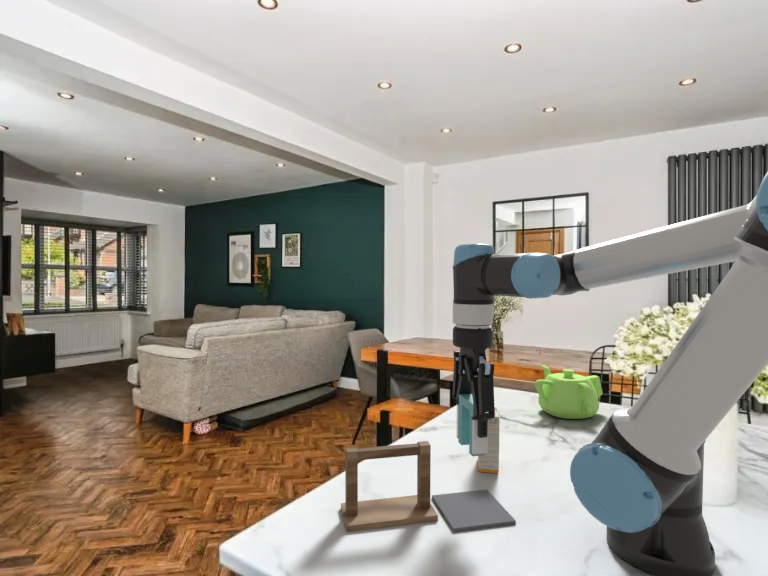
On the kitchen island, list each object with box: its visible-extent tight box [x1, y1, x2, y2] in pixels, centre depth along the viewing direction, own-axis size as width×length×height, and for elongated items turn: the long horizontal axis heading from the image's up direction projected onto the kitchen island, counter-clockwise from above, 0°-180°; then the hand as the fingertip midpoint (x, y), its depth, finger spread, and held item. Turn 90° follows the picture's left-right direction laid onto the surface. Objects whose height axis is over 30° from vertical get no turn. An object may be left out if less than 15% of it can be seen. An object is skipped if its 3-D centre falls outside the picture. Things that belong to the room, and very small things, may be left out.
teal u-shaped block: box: [457, 393, 485, 457], centre depth 85 cm, size 7×2×10 cm, turn 12°
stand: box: [340, 440, 439, 533], centre depth 84 cm, size 8×17×13 cm, turn 102°
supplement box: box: [477, 406, 500, 474], centre depth 105 cm, size 8×5×13 cm, turn 168°
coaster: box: [431, 489, 517, 533], centre depth 85 cm, size 12×12×1 cm
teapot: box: [534, 364, 604, 420], centre depth 145 cm, size 19×20×14 cm
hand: (471, 444), depth 85 cm, fingers closed on teal u-shaped block, 7 cm apart
